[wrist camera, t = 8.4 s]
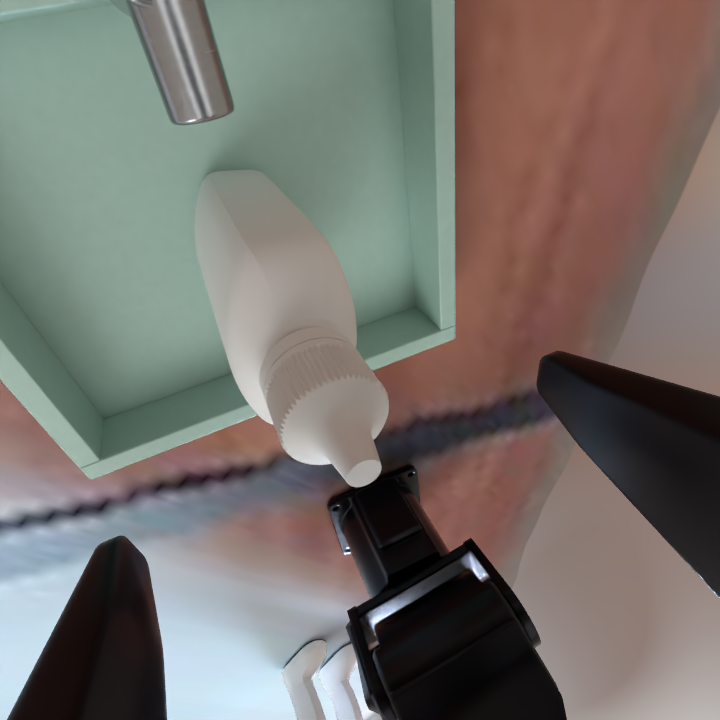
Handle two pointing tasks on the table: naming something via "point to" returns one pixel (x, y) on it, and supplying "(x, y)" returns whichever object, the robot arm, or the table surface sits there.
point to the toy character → (331, 677)
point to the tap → (182, 58)
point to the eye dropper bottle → (288, 323)
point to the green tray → (179, 196)
